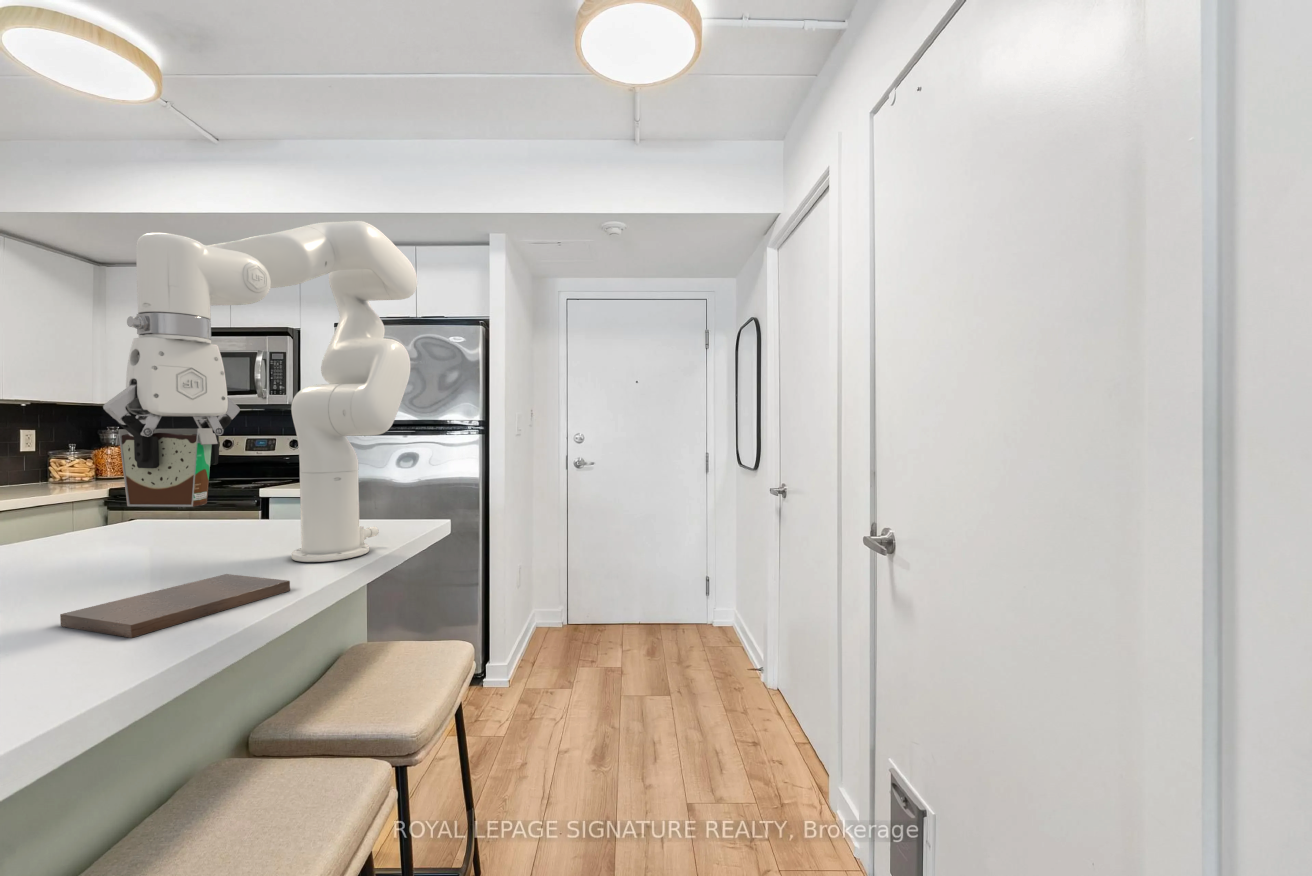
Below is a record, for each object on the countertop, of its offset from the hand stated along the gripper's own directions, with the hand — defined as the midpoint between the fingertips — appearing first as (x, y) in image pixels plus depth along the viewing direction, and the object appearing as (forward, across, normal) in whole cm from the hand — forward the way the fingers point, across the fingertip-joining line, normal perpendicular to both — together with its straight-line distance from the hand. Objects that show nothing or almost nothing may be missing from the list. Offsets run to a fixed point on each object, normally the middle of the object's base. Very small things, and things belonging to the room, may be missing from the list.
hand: (179, 464), depth 79 cm
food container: (+5, 0, 0) cm, 5 cm away
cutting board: (+19, 0, -1) cm, 19 cm away
